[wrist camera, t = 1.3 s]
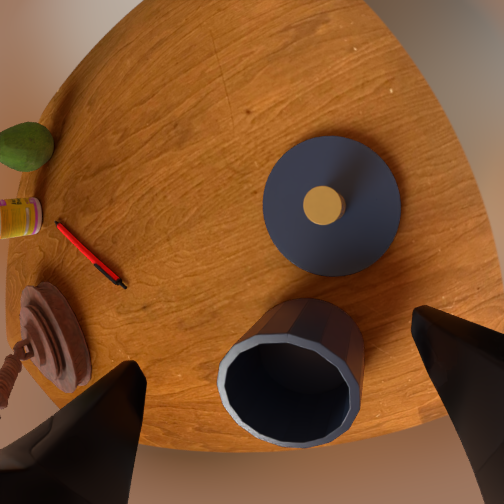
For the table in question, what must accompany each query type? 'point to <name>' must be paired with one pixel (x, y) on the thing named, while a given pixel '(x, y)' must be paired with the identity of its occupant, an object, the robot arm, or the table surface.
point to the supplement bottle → (20, 217)
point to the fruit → (26, 146)
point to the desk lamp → (48, 342)
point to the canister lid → (331, 206)
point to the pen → (91, 257)
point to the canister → (295, 374)
